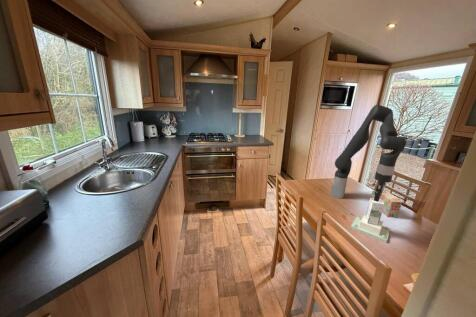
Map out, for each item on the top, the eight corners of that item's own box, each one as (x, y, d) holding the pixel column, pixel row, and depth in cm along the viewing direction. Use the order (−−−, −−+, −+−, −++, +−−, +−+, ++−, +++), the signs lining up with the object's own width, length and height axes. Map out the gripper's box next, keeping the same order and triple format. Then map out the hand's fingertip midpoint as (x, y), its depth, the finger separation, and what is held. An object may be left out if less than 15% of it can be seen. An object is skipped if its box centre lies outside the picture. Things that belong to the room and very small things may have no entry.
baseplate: (350, 228, 117) (352, 220, 116) (356, 218, 127) (357, 211, 125) (386, 242, 106) (388, 234, 104) (389, 230, 115) (392, 222, 114)
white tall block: (375, 220, 116) (381, 199, 112) (378, 225, 111) (384, 204, 107) (365, 218, 118) (370, 197, 114) (367, 223, 113) (372, 202, 109)
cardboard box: (369, 201, 149) (373, 186, 145) (378, 201, 148) (382, 187, 144) (387, 217, 128) (392, 201, 125) (397, 218, 128) (402, 201, 124)
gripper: (378, 167, 112) (372, 191, 117) (373, 173, 102) (367, 200, 107) (394, 170, 107) (387, 196, 112) (391, 177, 97) (383, 205, 102)
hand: (377, 198), depth 110 cm, fingers open, 8 cm apart
